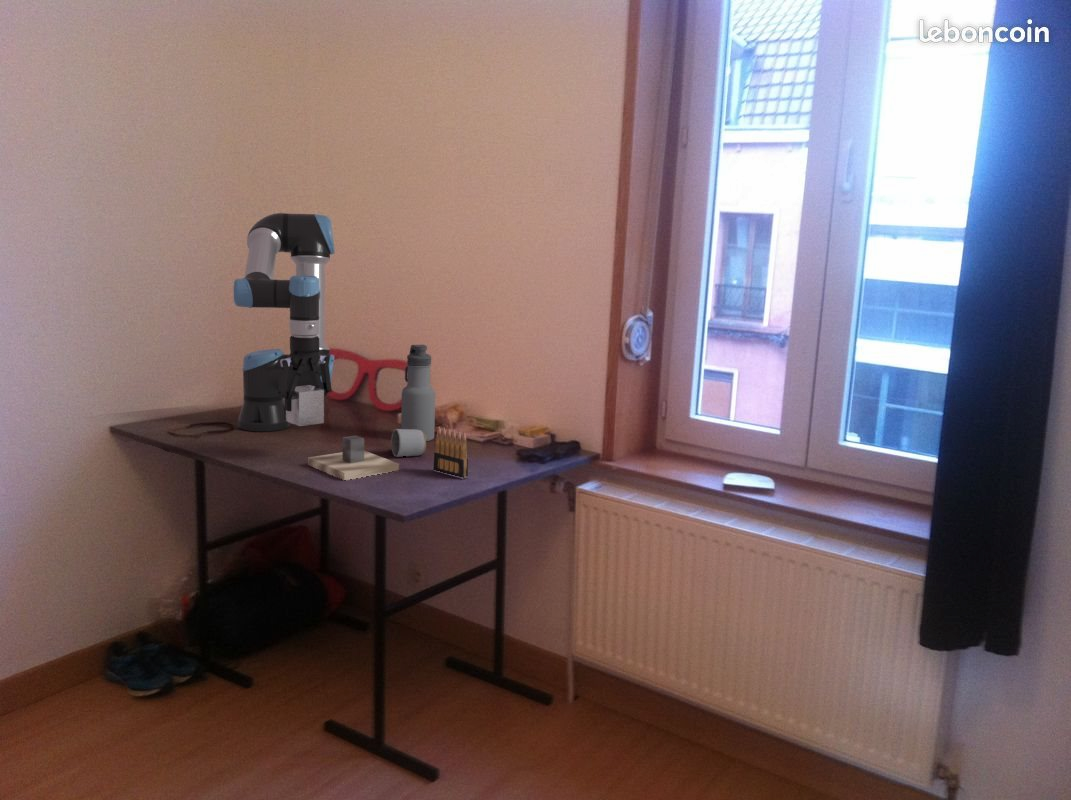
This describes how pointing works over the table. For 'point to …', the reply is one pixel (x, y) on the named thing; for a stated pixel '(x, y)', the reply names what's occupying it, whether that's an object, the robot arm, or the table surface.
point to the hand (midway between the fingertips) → (305, 420)
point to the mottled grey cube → (308, 405)
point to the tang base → (352, 468)
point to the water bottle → (418, 393)
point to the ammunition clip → (451, 453)
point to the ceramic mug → (408, 442)
